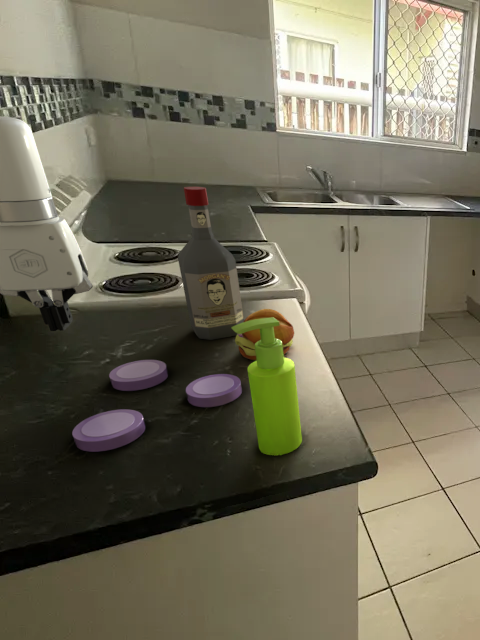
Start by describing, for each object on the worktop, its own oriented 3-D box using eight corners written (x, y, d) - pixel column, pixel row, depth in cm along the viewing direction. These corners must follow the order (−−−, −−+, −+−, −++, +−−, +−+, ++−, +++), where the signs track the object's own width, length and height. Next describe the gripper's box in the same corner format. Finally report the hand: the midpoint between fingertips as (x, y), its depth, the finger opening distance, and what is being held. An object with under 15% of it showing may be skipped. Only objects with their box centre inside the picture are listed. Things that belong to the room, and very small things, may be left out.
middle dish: (183, 410, 76) (181, 400, 75) (191, 385, 83) (189, 376, 82) (240, 403, 79) (238, 393, 78) (243, 380, 86) (242, 371, 85)
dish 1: (66, 456, 64) (62, 445, 63) (86, 423, 71) (83, 413, 70) (138, 446, 67) (135, 435, 67) (151, 415, 74) (148, 405, 73)
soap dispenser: (245, 443, 70) (225, 318, 62) (292, 427, 75) (279, 309, 66) (260, 464, 66) (240, 334, 58) (308, 445, 71) (297, 323, 63)
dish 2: (105, 393, 78) (102, 383, 77) (119, 371, 85) (116, 361, 84) (163, 387, 81) (160, 378, 80) (172, 366, 88) (170, 357, 87)
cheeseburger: (271, 335, 103) (274, 296, 98) (304, 360, 99) (308, 321, 94) (225, 350, 95) (226, 307, 90) (259, 378, 91) (261, 335, 86)
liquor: (190, 327, 103) (161, 184, 91) (236, 319, 109) (215, 184, 97) (199, 342, 97) (170, 192, 85) (248, 333, 103) (227, 191, 91)
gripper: (-68, 215, 62) (-14, 342, 69) (77, 215, 67) (112, 332, 75) (-35, 205, 68) (10, 322, 76) (95, 206, 74) (125, 315, 81)
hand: (61, 327), depth 75 cm, fingers closed
